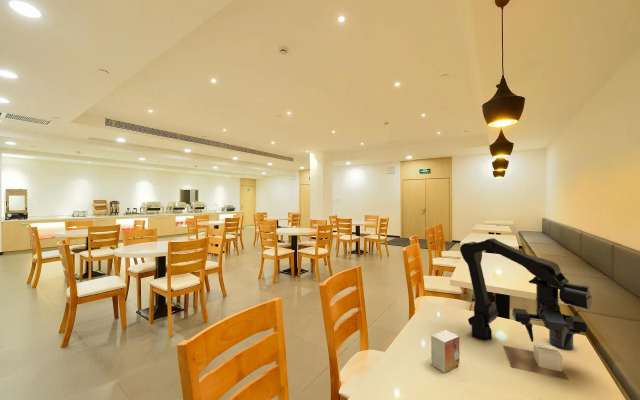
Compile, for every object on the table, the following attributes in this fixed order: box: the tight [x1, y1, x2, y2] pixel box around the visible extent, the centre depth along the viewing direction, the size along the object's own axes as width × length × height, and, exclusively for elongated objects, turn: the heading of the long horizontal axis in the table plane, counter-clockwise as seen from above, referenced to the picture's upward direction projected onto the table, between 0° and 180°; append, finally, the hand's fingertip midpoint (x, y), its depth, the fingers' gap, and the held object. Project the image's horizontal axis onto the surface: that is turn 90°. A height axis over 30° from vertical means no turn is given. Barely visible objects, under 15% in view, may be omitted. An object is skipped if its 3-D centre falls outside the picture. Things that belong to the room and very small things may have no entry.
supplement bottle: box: [548, 329, 574, 351], centre depth 100 cm, size 7×7×12 cm
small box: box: [430, 329, 461, 374], centre depth 91 cm, size 8×6×10 cm
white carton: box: [533, 342, 563, 372], centre depth 89 cm, size 6×6×5 cm
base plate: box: [502, 345, 570, 381], centre depth 91 cm, size 15×14×1 cm
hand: (547, 344), depth 89 cm, fingers open, 8 cm apart
